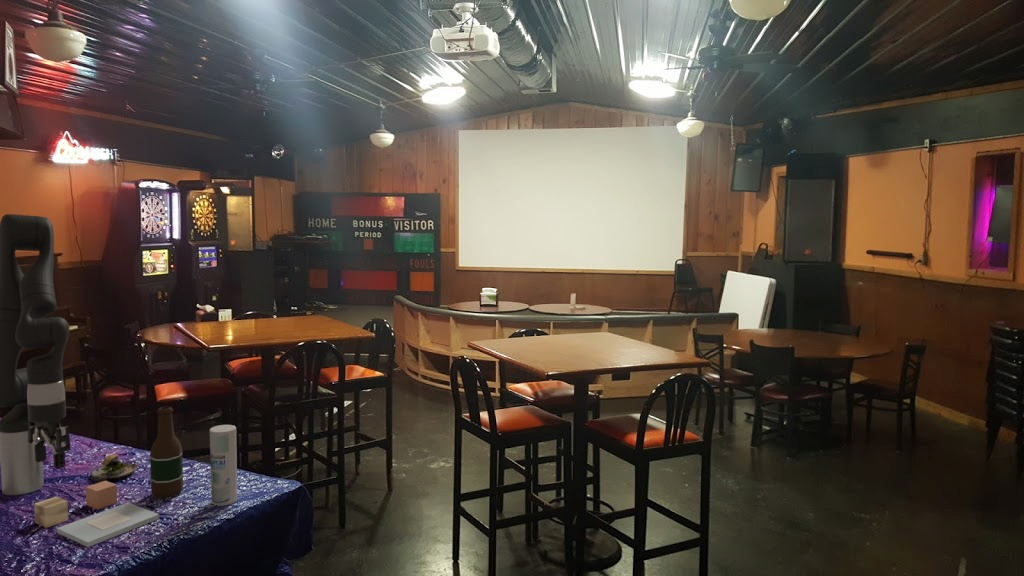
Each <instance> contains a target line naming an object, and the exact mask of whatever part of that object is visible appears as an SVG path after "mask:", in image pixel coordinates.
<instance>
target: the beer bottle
mask: <svg viewBox="0 0 1024 576" xmlns="http://www.w3.org/2000/svg"><path fill="white" fill-rule="evenodd" d="M173 411H174V409H173V407H172V406H160V407H159V408H158V409H157V412H156V414H158V417H157V418H158V419H157V420H158V421H157V422H158V423H157V434H156V435H157V436H156V438H155V440H154V441H153V443H152V446H151V447H150V450H149V451H150V454H149V455H150V456H149V461H150V462H149V463H150V490H151V496H152V497H154V498H155V499H159V500H161V499H170V498H173V497H177V496H179V495H180V494H181V493H182V491H183V490H184V469H183V468H184V467H183V465H184V464H183V463H184V462H183V448H182V444H181V442H180V440H179V438H178V437H177V436H176V435H175V431H174V421H173V420H174V419H173Z"/></svg>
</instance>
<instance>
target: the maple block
mask: <svg viewBox="0 0 1024 576" xmlns="http://www.w3.org/2000/svg"><path fill="white" fill-rule="evenodd" d="M33 504H34V506H33V507H34V522H35V524H37V525H40V526H41V527H44V528H45V529H47V528H50V527H52V526H55V525H58V524H61V523H64V522H67V521H69V508H68V507H69V504H68V500H67V499H66V500H65V499H63V498H62V497H59V496H56V495H55V496H53V497H51V498H48V499H45V500H42V501H38V502H35V503H33Z"/></svg>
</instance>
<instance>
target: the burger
mask: <svg viewBox="0 0 1024 576" xmlns="http://www.w3.org/2000/svg"><path fill="white" fill-rule="evenodd" d="M105 453H106V454H107V456H105V457H104V458H103V460H102V464H101V466H98V467H96V468H94V469H93V470H92V471H91V472H90V479H91V478H92V479H91V480H92V481H94V480H95V481H94V482H97V481H98V482H97V483H100V482H103V481H108V480H112V479H118V478H123V477H126V476H128V475H130V474H132V473H133V472H134V471H136V469H137V468H138V465H137V464H136V463H132V462H121V461H120V460H118V458H119V455H117V454H108V452H107V451H105ZM91 476H92V477H91Z"/></svg>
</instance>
